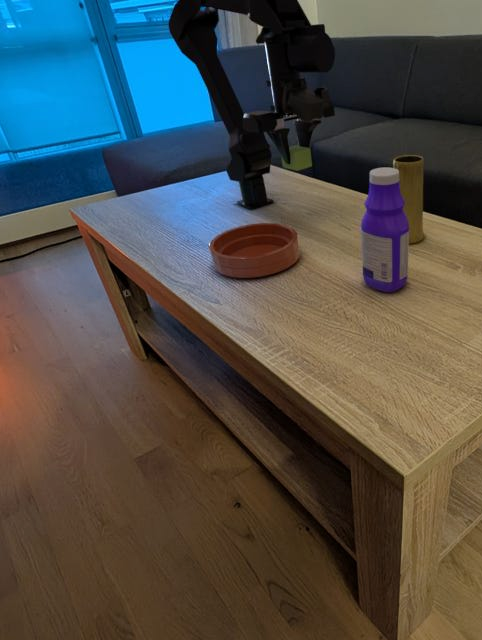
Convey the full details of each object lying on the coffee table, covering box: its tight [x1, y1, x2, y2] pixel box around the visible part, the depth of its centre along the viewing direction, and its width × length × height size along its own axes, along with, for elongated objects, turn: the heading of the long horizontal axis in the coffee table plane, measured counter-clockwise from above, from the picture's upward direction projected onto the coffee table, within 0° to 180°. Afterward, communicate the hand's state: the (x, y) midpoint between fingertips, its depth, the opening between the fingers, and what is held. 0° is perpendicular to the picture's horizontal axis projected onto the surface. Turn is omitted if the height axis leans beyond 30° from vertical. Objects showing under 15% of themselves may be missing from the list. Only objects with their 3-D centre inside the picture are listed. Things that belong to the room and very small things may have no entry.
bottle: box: [360, 166, 410, 293], centre depth 66 cm, size 7×6×17 cm
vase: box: [392, 154, 425, 245], centre depth 81 cm, size 6×6×14 cm
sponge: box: [280, 144, 313, 172], centre depth 92 cm, size 5×4×4 cm
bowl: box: [208, 222, 301, 279], centre depth 81 cm, size 16×16×4 cm
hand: (296, 161), depth 93 cm, fingers closed on sponge, 4 cm apart
